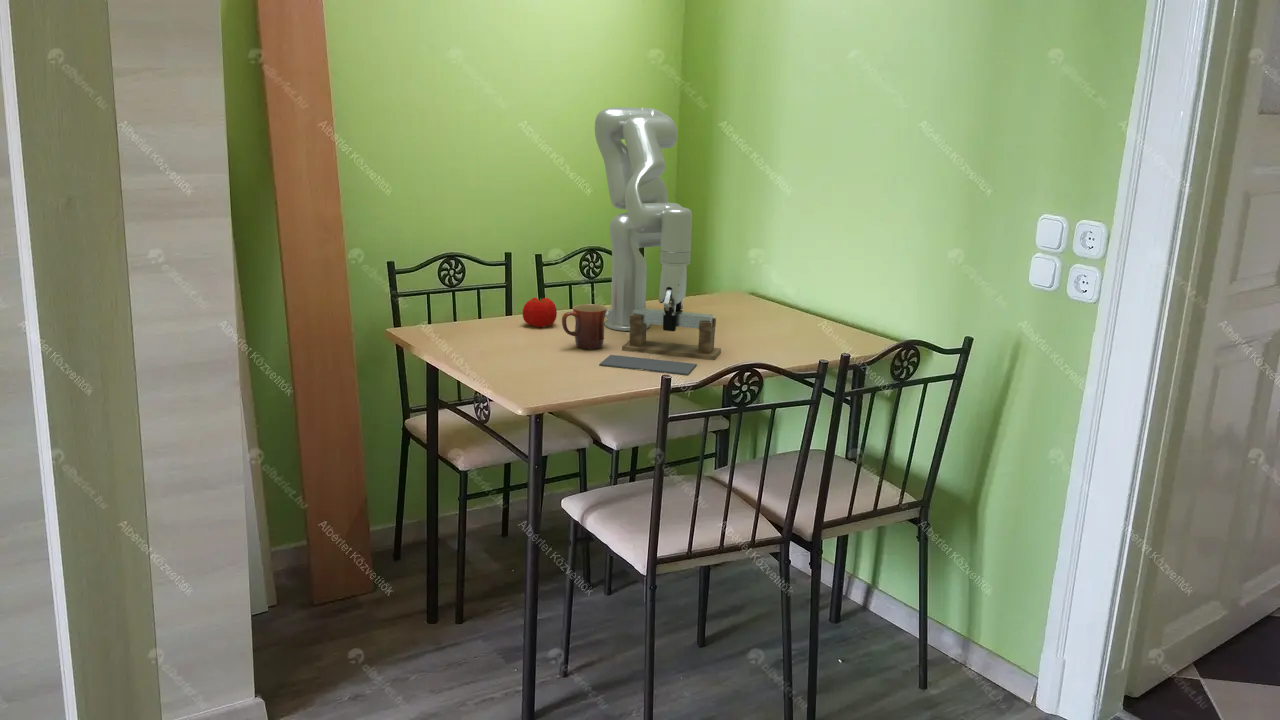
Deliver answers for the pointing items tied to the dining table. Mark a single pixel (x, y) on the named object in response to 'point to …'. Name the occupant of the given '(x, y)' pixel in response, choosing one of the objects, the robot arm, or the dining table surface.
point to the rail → (681, 317)
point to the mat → (648, 364)
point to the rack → (701, 351)
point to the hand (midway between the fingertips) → (672, 327)
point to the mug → (587, 325)
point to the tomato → (539, 312)
